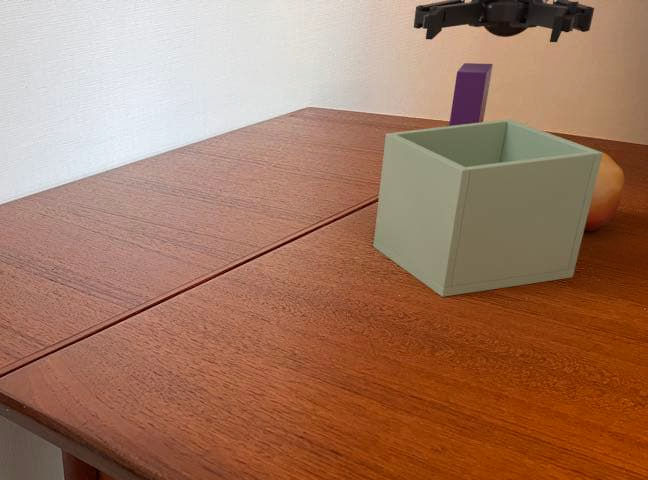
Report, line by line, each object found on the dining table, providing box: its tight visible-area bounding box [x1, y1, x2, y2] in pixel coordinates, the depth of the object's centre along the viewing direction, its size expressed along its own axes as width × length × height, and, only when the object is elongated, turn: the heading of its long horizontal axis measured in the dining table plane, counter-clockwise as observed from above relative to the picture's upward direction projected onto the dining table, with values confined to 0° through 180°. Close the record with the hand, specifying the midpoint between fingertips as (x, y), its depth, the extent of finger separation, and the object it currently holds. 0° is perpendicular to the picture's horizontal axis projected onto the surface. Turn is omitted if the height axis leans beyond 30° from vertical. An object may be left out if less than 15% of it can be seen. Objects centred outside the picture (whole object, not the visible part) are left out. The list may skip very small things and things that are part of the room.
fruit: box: [584, 151, 625, 232], centre depth 84 cm, size 8×8×8 cm
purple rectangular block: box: [448, 62, 494, 126], centre depth 97 cm, size 3×5×12 cm, turn 152°
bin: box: [372, 118, 604, 298], centre depth 76 cm, size 12×12×11 cm
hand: (491, 28), depth 100 cm, fingers open, 13 cm apart
